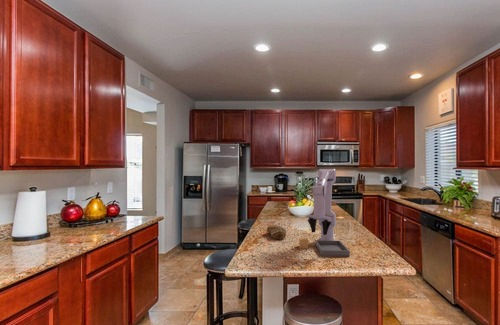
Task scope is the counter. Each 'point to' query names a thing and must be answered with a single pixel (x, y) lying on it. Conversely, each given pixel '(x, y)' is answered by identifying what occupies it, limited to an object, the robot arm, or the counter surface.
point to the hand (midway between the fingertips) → (319, 233)
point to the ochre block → (303, 242)
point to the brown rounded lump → (277, 232)
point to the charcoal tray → (332, 248)
